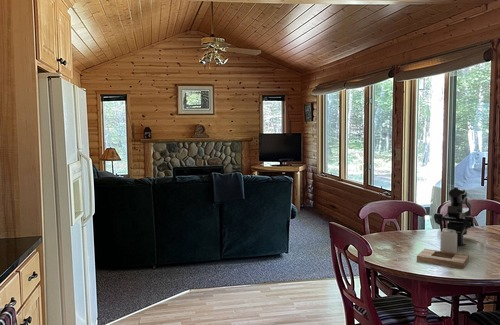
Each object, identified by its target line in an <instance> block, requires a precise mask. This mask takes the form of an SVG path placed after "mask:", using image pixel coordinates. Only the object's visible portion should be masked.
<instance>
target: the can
mask: <svg viewBox="0 0 500 325" xmlns="http://www.w3.org/2000/svg"><path fill="white" fill-rule="evenodd" d="M439 251H444V252H451V253H458V246H457V233H456V231H455V230H451V229H447V228H443V230H442V232H441V231H440V250H439Z"/></svg>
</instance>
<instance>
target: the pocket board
mask: <svg viewBox="0 0 500 325" xmlns="http://www.w3.org/2000/svg"><path fill="white" fill-rule="evenodd" d="M469 261H470V255H469V254H463V253H458V252H457V253H451V252H444V251H440V250H438V249H437V250H436V249H430V248H424V249H422V250H421V251H420V252H419V253H418V254H417V255H416V262H421V263H428V264H434V265H439V266H440V265H441V266H447V267H450V268H451V267H453V268H458V269H464V268H466V267H465V266H466V265H467V264H468V262H469Z"/></svg>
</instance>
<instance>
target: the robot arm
mask: <svg viewBox="0 0 500 325" xmlns="http://www.w3.org/2000/svg"><path fill="white" fill-rule="evenodd" d="M448 196H449V201H450V205H447V210H446V212H447V216H444V214H443V213H437V212H436V213H434V214H433V220H434V223H435V224H437V225H439V227H440V228H439V229H440V233H441V232H442V230H443V229H444V221H446V222H447V224H446V225H447V228H446V229H451V230H455V231H456V233H457V247H462V246H466V245H467V244H466V243H464V236H465V235H468V229H471V228H474V227H475V224H476V222H475V218H474V217H473V216H472V205H471V203H470V202H469V199H468V192H467V191H466V189H463V188H462V189H461V188H459V187H453V188H451V189H450V191H448ZM464 205H465V206H466V207H464Z"/></svg>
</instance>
